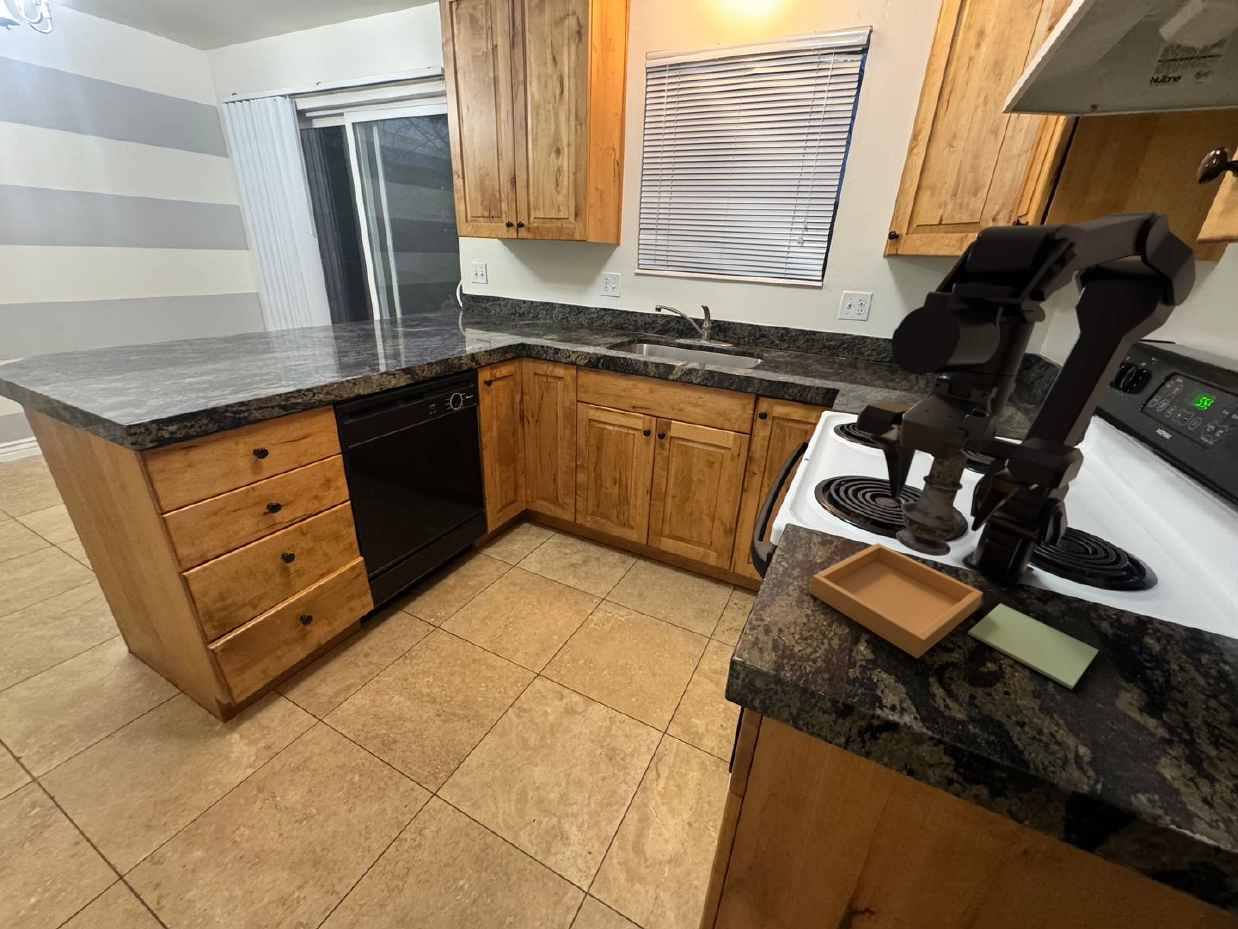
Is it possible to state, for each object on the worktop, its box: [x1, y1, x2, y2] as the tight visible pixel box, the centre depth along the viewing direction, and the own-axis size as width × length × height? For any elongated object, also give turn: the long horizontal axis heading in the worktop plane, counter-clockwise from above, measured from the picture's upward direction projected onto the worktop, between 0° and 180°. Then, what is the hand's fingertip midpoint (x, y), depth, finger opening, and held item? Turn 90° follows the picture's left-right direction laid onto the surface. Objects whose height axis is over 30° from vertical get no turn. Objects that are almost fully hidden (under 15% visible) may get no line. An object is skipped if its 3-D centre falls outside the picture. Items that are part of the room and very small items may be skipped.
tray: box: [808, 542, 984, 659], centre depth 58 cm, size 15×13×2 cm
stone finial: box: [895, 450, 968, 557], centre depth 53 cm, size 6×6×12 cm
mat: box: [967, 603, 1099, 690], centre depth 53 cm, size 9×9×1 cm
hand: (932, 513), depth 54 cm, fingers closed on stone finial, 8 cm apart
